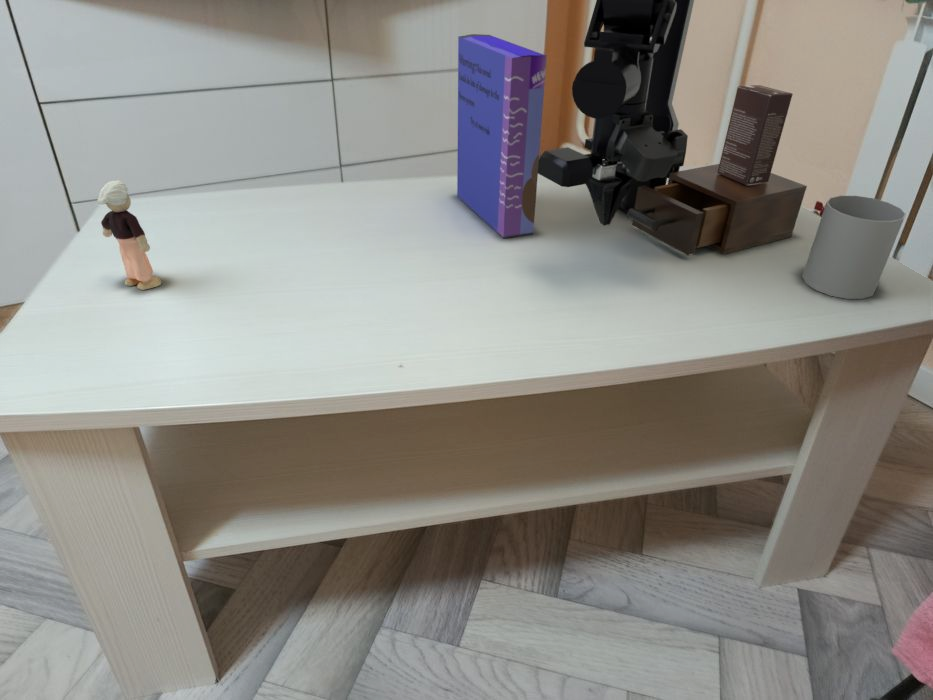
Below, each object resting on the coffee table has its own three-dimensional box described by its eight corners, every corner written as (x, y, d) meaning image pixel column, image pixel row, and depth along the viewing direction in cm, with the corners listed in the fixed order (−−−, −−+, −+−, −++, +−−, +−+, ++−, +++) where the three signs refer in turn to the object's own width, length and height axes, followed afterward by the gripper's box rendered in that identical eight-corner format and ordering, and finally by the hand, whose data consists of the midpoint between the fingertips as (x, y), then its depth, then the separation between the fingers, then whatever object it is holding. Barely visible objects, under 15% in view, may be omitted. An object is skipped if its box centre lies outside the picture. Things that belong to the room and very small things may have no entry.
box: (770, 182, 93) (795, 92, 86) (745, 187, 91) (769, 95, 84) (738, 169, 97) (760, 83, 91) (715, 173, 96) (735, 85, 89)
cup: (883, 302, 80) (915, 224, 74) (811, 295, 81) (837, 218, 76) (863, 271, 87) (891, 198, 81) (796, 265, 88) (820, 192, 83)
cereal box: (533, 233, 95) (546, 53, 82) (503, 238, 94) (512, 56, 81) (484, 193, 109) (489, 33, 96) (457, 197, 107) (458, 34, 94)
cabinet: (723, 254, 91) (736, 201, 86) (660, 222, 100) (669, 172, 96) (791, 236, 96) (807, 185, 92) (725, 207, 105) (737, 160, 101)
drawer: (663, 261, 86) (671, 219, 83) (608, 230, 95) (614, 191, 92) (754, 238, 93) (765, 198, 90) (695, 211, 101) (703, 173, 98)
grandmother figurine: (176, 280, 82) (151, 180, 75) (155, 294, 79) (126, 191, 72) (126, 270, 84) (97, 172, 77) (103, 283, 81) (70, 182, 74)
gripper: (600, 125, 68) (583, 263, 76) (732, 106, 75) (703, 234, 84) (540, 101, 76) (531, 228, 85) (664, 86, 83) (644, 204, 92)
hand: (604, 224), depth 86 cm, fingers closed
